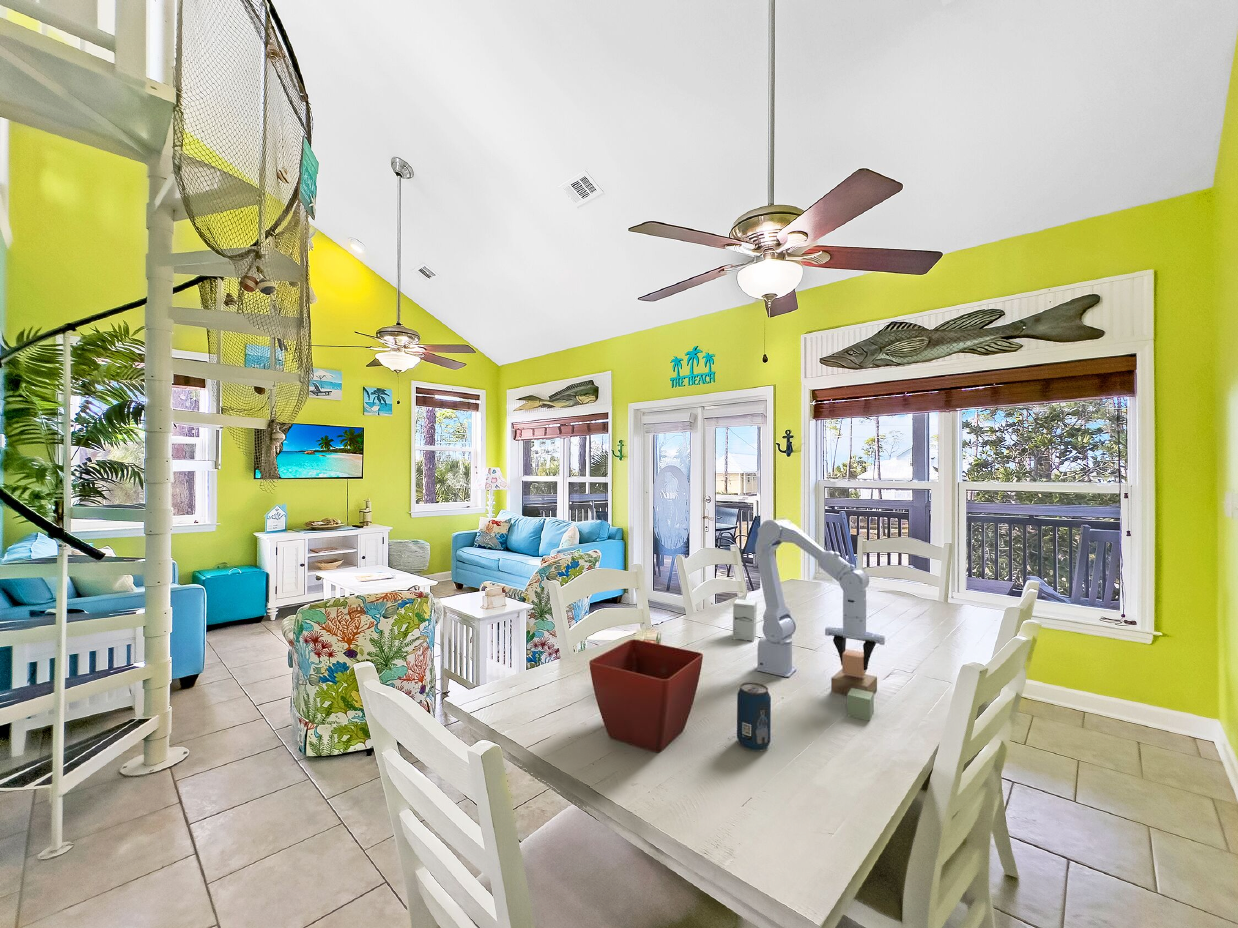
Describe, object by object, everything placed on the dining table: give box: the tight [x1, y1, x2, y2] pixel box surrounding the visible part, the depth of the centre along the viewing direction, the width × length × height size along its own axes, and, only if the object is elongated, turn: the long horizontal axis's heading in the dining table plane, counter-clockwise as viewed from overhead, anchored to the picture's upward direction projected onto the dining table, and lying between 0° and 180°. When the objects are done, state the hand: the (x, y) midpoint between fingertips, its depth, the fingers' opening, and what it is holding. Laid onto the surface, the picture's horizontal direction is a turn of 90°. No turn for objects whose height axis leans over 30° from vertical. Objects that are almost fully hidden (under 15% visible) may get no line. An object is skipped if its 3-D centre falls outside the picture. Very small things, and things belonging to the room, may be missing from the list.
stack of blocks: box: [633, 628, 662, 645], centre depth 155 cm, size 21×6×12 cm, turn 170°
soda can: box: [736, 682, 772, 752], centre depth 115 cm, size 7×7×12 cm
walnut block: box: [830, 668, 878, 697], centre depth 144 cm, size 9×9×4 cm
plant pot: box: [588, 638, 704, 753], centre depth 120 cm, size 19×19×17 cm
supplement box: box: [732, 598, 758, 642], centre depth 191 cm, size 7×7×13 cm
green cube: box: [846, 688, 875, 721], centre depth 131 cm, size 5×5×5 cm
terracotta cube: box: [841, 648, 867, 677], centre depth 144 cm, size 5×5×5 cm
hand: (854, 666), depth 144 cm, fingers closed on terracotta cube, 5 cm apart
